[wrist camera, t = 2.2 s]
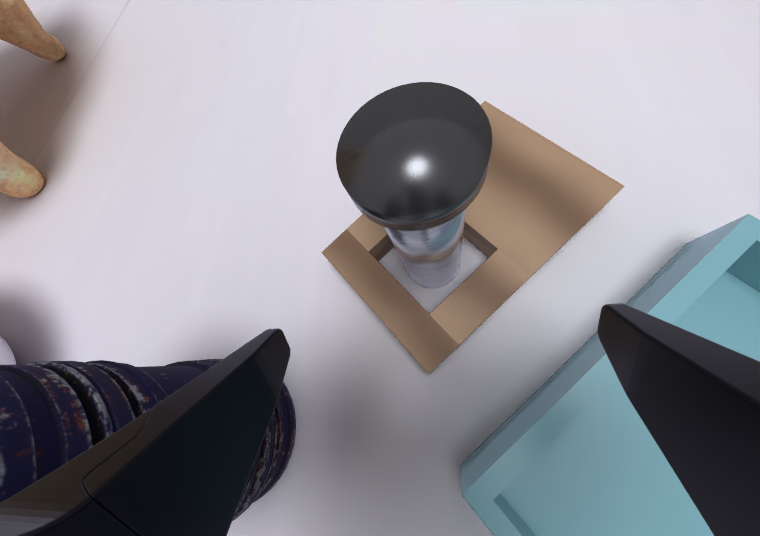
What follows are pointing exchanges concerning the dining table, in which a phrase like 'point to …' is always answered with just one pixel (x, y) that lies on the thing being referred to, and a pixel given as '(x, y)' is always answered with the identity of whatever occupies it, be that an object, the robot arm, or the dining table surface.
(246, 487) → the storage jar
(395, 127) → the pin
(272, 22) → the dining table surface
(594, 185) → the block
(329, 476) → the dining table surface
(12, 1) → the decorative bowl
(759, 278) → the tray
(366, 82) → the dining table surface
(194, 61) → the dining table surface
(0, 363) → the white bowl of pudding
